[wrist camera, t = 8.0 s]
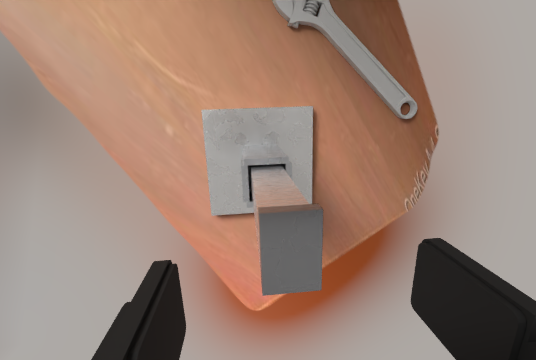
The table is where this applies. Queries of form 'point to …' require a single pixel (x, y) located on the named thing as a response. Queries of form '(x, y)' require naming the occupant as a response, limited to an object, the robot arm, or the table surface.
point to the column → (286, 232)
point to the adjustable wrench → (348, 49)
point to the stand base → (255, 151)
